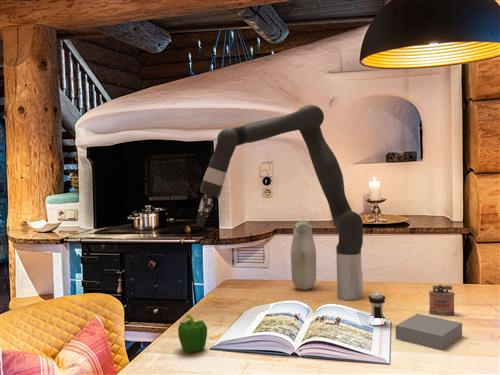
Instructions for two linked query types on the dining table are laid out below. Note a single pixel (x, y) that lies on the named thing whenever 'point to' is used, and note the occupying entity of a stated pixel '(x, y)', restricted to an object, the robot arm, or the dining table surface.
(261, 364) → the dining table surface
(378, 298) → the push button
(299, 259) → the grey bottle
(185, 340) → the bell pepper
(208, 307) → the dining table surface
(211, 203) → the robot arm
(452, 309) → the lighter
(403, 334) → the slate stand
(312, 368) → the dining table surface
